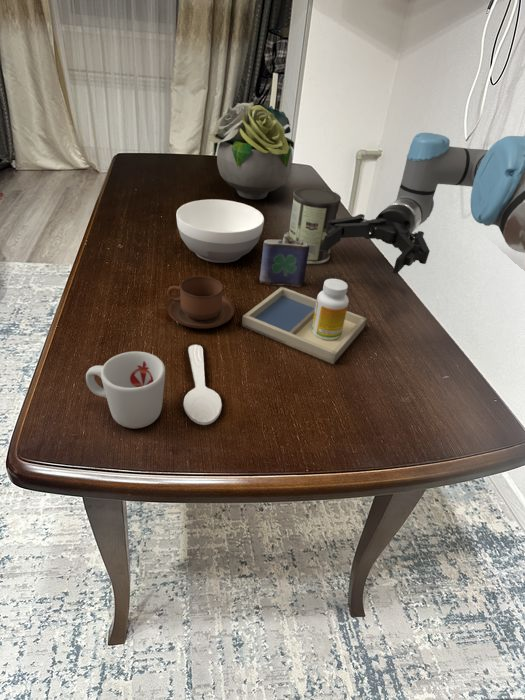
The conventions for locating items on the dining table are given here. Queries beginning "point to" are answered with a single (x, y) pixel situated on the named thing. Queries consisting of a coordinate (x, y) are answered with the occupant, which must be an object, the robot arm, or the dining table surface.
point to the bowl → (219, 229)
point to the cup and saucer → (200, 303)
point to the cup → (131, 387)
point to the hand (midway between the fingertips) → (359, 254)
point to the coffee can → (313, 219)
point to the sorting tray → (299, 324)
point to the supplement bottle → (330, 310)
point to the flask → (284, 261)
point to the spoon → (201, 392)
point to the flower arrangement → (253, 149)
